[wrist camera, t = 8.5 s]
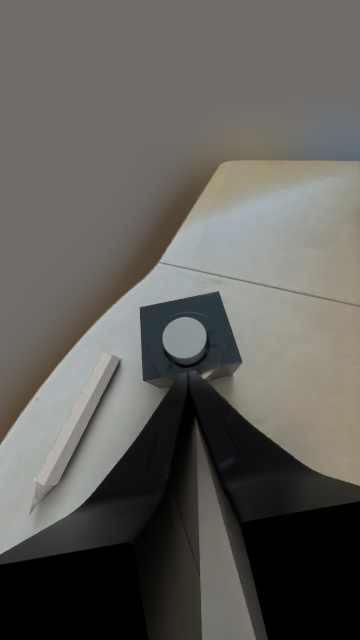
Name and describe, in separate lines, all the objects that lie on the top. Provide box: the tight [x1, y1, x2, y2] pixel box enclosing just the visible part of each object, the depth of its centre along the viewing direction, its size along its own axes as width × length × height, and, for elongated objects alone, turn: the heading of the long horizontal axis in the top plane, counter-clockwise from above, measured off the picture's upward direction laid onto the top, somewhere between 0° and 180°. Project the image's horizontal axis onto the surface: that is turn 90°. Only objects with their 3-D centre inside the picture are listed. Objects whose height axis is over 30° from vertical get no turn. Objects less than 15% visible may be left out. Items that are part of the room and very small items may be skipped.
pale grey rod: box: [29, 352, 120, 515], centre depth 19 cm, size 3×2×16 cm
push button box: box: [140, 291, 242, 388], centre depth 19 cm, size 9×9×8 cm
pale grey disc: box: [162, 317, 207, 365], centre depth 14 cm, size 3×3×2 cm
